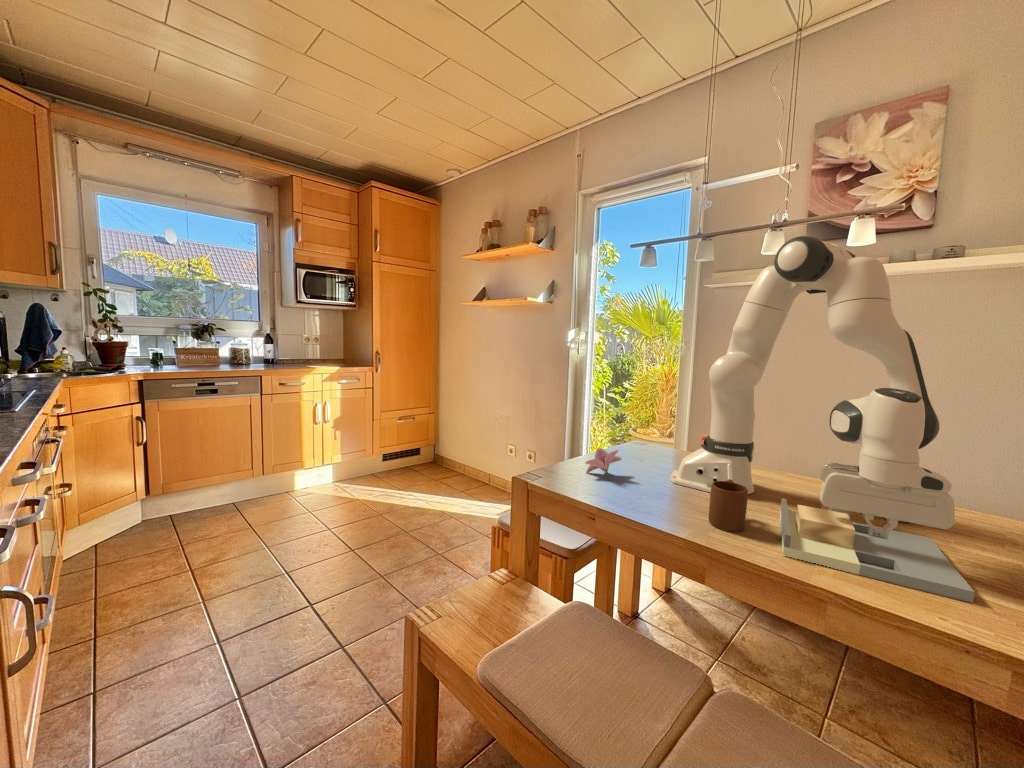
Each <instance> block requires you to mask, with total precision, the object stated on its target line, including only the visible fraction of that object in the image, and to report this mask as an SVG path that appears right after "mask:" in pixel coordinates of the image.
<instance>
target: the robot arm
mask: <svg viewBox="0 0 1024 768" xmlns="http://www.w3.org/2000/svg"><path fill="white" fill-rule="evenodd" d="M775 254H776V255H775V257H774V263H773V265H769V266H767V267H765V268H763V269H762V270H761V271H760V273H759V274H758V276H757V278H756V279H755V280H754V282H753V284H752V285H751V287H750V289H749V291H748V292H747V295H746V296H745V299H744V301H743V304H742V307H741V309H740V311H739V313H738V315H737V318H736V320H735V323H734V324H733V328H732V334H731V337H730V339H729V340H730V341H729V345H728V347H727V351H726V352H725V355H722V356H720V357H719V358H717V359H716V360H715V361H714V362H713V363H712V365H711V366H710V369H709V372H708V379H709V385H710V386H709V390H710V403H711V417H710V429H709V434H703V435H702V436H701V443H700V444H701V445H700V446H701V447H700V448H698V449H697V450H695V451H693V452H691V453H689V454H687V455H686V456H684V457H683V459H681V461H680V465H679V468H677V469H675V470H673V471H672V472H671V473H670V481H671V482H672V483H673V484H675V485H680V486H684V487H688V488H691V489H696V490H700V491H704V492H707V493H711V487H712V483H713V482H715V481H727V480H728V479H730V480H732V481H733V482H734V483H737V484H740V485H743V486H745V487H746V488H747V490H748V495H751V494H753V493H754V492H755V487H754V483H753V482H754V481H753V476H752V462H753V459H754V454H755V453H754V451H755V446H754V445H755V443H754V441H753V439H754V437H753V436H754V428H755V427H754V426H755V419H756V418H755V417H756V414H755V387H756V386H757V385H758V384H759V383H760V381H761V379H762V377H763V375H764V372H765V370H766V367H767V365H768V362H769V360H770V357H771V355H772V352H773V349H774V345H775V344H776V341H777V339H778V336H779V334H780V332H781V330H782V328H783V326H784V323H785V321H786V319H787V318H788V317H787V316H788V315H789V312H790V310H791V308H792V305H793V303H794V301H795V300H796V298H797V297H798V296H799V295H800V294H801V293H804V292H806V293H808V295H812V294H813V295H814V294H823V293H824V294H825V293H826V297H827V301H826V302H827V324H828V325H827V326H828V328H829V330H830V333H831V334H832V336H834V338H836V339H837V341H840V342H841V343H843V344H844V345H847V346H849V347H851V348H853V349H857V350H860V351H862V352H865V353H867V354H870V355H871V356H874V357H875V358H876V359H877V360H879V361H880V362H881V363H882V364H883V365H884V367H885V370H886V372H887V373H886V374H887V376H888V382H889V385H890V387H881V388H880V387H879V388H875V389H873V390H872V391H870V393H869V394H868V395H866V396H863V397H858V398H854V399H847V400H846V399H845V400H842V401H840V402H839V403H837V404H836V405H835V406H834V407H833V408H832V410H831V412H830V414H829V429H830V431H831V432H832V433H833V435H834V436H835V437H836V438H837V439H839V440H840V441H842V442H846V443H851V444H857V445H858V444H859V445H861V449H860V452H859V457H858V465H853V464H852V465H850V464H841V463H838V462H830V463H828V464H825V465H823V466H822V468H821V470H820V479H821V481H822V483H821V487H820V491H819V501H820V502H821V505H822V504H823V505H824V506H827V507H832V508H837V509H842V510H847V511H850V512H853V513H859V514H862V516H863V519H864V520H865V522H866V525H868V535H869V536H873V537H878V538H882V539H888V535H889V532H890V531H892V530H894V529H895V528H897V527H898V525H899V522H898V520H899V521H904V522H909V523H911V524H915V525H919V526H920V525H921V526H926V527H931V528H935V529H936V528H937V529H941V530H948V529H950V528H952V527H953V526H954V524H955V517H956V516H955V515H956V513H955V511H956V508H955V502H954V498H953V497H952V496H951V495H950V492H951V489H952V483H951V482H950V480H949V479H947V478H946V477H945V476H943V475H942V474H940V473H938V472H935V471H933V470H930V469H928V468H925V467H923V466H920V460H921V459H920V454H919V450H920V449H923V448H925V447H926V446H928V445H929V444H930V443H932V442H933V441H934V440H935V439H936V437H937V436H938V434H939V431H940V421H939V418H938V416H937V414H936V411H935V409H934V407H933V405H932V403H931V400H930V398H929V394H928V390H927V386H926V383H925V378H924V375H923V371H922V367H921V363H920V360H919V356H918V352H917V349H916V346H915V342H914V340H913V338H912V336H911V334H910V333H909V332H908V331H907V330H905V329H903V328H902V326H900V323H899V322H898V320H897V319H896V317H895V315H894V311H893V309H892V300H891V290H890V284H889V280H888V276H887V273H886V270H885V267H884V265H883V263H882V262H881V261H880V260H879V259H877V258H876V257H870V256H855V254H853V253H852V252H851V251H849V250H846V249H844V248H843V247H841V246H839V245H837V244H836V243H833V242H830V241H824V240H821V239H820V238H817V237H813V236H807V235H806V236H805V235H802V236H796V237H792V238H789V240H787V241H786V242H784V243H783V244H782V245H781V246H780V248H779V249H778V250H777V252H776V253H775ZM875 517H879V518H885V519H886V522H887V523H886V524H885V525H884V526H883V527H881V526H877V525H873V524H872V521H874V519H875ZM904 522H903V523H904Z"/></svg>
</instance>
